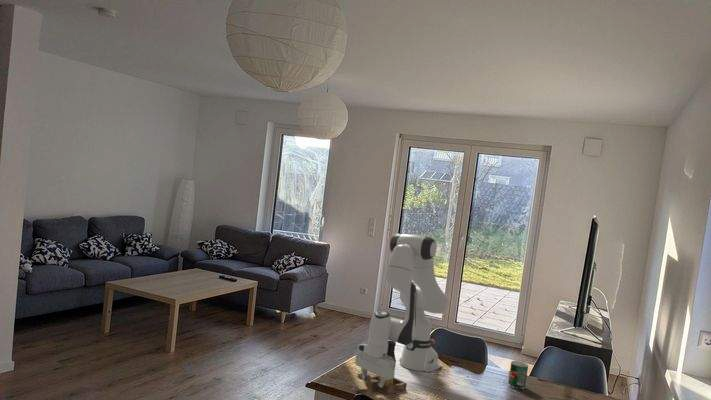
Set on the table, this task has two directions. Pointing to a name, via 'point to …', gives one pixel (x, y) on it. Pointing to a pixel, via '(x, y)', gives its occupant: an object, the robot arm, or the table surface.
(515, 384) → the canned tomato
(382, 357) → the robot arm
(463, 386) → the table surface
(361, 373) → the grey plunger shape
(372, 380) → the wooden frame with handle
